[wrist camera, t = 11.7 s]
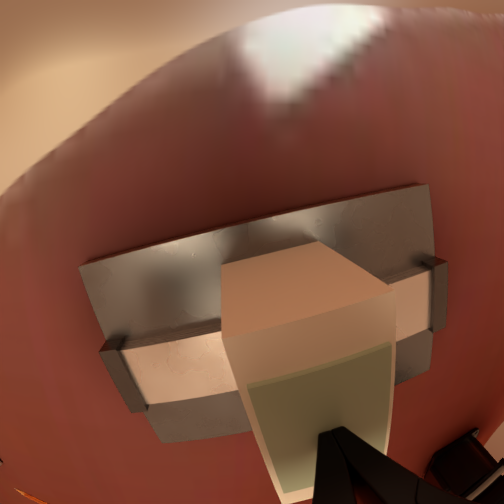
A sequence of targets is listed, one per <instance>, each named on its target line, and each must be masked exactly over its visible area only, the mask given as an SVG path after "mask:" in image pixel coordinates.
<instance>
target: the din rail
mask: <svg viewBox="0 0 504 504" xmlns="http://www.w3.org/2000/svg"><path fill="white" fill-rule="evenodd" d="M317 241H319V242H321V243H323V244H324V245H326V246H327V247H329V248H331V249H332V250H334V251H335V252H337V253H339V254H340V255H342V256H343V257H345V258H347V259H348V260H350V261H351V262H353V263H354V264H356V265H358V266H359V267H361V268H362V269H364V270H365V271H367V272H368V273H370V274H372V275H373V276H375V277H376V278H378V279H379V280H381V281H382V282H384V283H385V284H387V285H388V286H390V287H391V288H393V289H394V290H395V300H396V360H395V381H394V386H395V385H397V384H399V383H402V382H404V381H406V380H408V379H410V378H413V377H415V376H417V375H419V374H421V373H423V372H425V371H427V370H429V369H430V361H431V352H432V342H433V333H434V332H436V331H438V330H441V329H443V328H445V327H446V314H447V295H448V262H447V261H445V260H442V259H440V258H437V257H435V250H434V232H433V219H432V209H431V199H430V191H429V184H420V183H417V184H412V185H406V186H401V187H396V188H391V189H386V190H381V191H376V192H371V193H366V194H361V195H356V196H351V197H346V198H341V199H336V200H332V201H327V202H322V203H318V204H313V205H309V206H304V207H300V208H295V209H291V210H286V211H282V212H277V213H273V214H269V215H264V216H260V217H256V218H252V219H247V220H243V221H239V222H235V223H231V224H226V225H222V226H218V227H214V228H210V229H206V230H202V231H198V232H194V233H190V234H186V235H182V236H179V237H175V238H171V239H167V240H163V241H159V242H156V243H152V244H148V245H144V246H141V247H137V248H133V249H129V250H126V251H122V252H119V253H115V254H111V255H108V256H104V257H101V258H97V259H94V260H90V261H87V262H85V263H83V264H82V265H80V266H79V267H78V268H79V271H80V274H81V277H82V280H83V283H84V286H85V289H86V291H87V294H88V297H89V299H90V302H91V305H92V307H93V310H94V312H95V315H96V317H97V320H98V322H99V324H100V327H101V329H102V332H103V334H104V336H105V338H106V342H105V343H104V345H103V346H102V348H101V349H100V351H99V354H100V356H101V358H102V360H103V362H104V364H105V366H106V368H107V370H108V372H109V374H110V376H111V378H112V379H113V381H114V383H115V385H116V387H117V389H118V391H119V392H120V394H121V396H122V398H123V399H124V401H125V403H126V405H127V406H128V408H129V410H130V411H131V413H135V412H143V413H144V415H145V416H146V418H147V420H148V421H149V423H150V425H151V426H152V428H153V429H154V431H155V433H156V434H157V436H158V437H159V439H160V440H161V442H162V443H172V442H182V441H191V440H199V439H206V438H213V437H219V436H225V435H231V434H237V433H242V432H247V431H252V427H251V424H250V421H249V419H248V416H247V413H246V410H245V408H244V405H243V402H242V399H241V396H240V393H239V390H238V387H237V384H236V382H235V379H234V376H233V373H232V370H231V367H230V364H229V360H228V357H227V354H226V351H225V348H224V345H223V342H222V333H221V265H223V264H227V263H231V262H235V261H239V260H243V259H247V258H252V257H256V256H260V255H264V254H268V253H272V252H276V251H280V250H284V249H288V248H292V247H296V246H300V245H305V244H309V243H313V242H317Z"/></svg>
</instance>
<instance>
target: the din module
mask: <svg viewBox="0 0 504 504" xmlns="http://www.w3.org/2000/svg"><path fill="white" fill-rule="evenodd" d="M221 333H222V342H223V345H224V348H225V351H226V354H227V357H228V360H229V364H230V367H231V370H232V373H233V376H234V379H235V382H236V384H237V387H238V390H239V393H240V396H241V399H242V402H243V405H244V408H245V410H246V413H247V416H248V419H249V421H250V424H251V427H252V430H253V432H254V435H255V438H256V440H257V443H258V446H259V448H260V451H261V454H262V456H263V459H264V461H265V464H266V467H267V469H268V472H269V474H270V477H271V479H272V482H273V484H274V487H275V489H276V491H277V494H278V496H279V499H280V501H281V503H282V504H290V503H295V502H299V501H303V500H307V499H310V498H313V490H314V480H315V469H316V456H317V442H318V434H319V433H322V432H325V431H328V430H330V431H331V430H332V429H334V428H337V427H340V426H344V427H346V428H347V429H349V430H350V431H351V432H353V433H354V434H356V435H357V436H358V437H360V438H361V439H363V440H364V441H366V442H367V443H368V444H370V445H371V446H373V447H374V448H376V449H377V450H379V451H380V452H382V453H383V454H385V455H387V448H388V441H389V434H390V426H391V417H392V407H393V395H394V381H395V360H396V300H395V290H394V289H393V288H391V287H390V286H388V285H387V284H385V283H384V282H382V281H381V280H379V279H378V278H376V277H375V276H373V275H372V274H370V273H368V272H367V271H365V270H364V269H362V268H361V267H359V266H358V265H356V264H354V263H353V262H351V261H350V260H348V259H347V258H345V257H343V256H342V255H340V254H339V253H337V252H335V251H334V250H332V249H331V248H329V247H327V246H326V245H324V244H323V243H321V242H319V241H317V242H313V243H309V244H305V245H300V246H296V247H292V248H288V249H284V250H280V251H276V252H272V253H268V254H264V255H260V256H256V257H252V258H247V259H243V260H239V261H235V262H231V263H227V264H223V265H221Z"/></svg>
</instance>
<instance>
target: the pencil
mask: <svg viewBox="0 0 504 504" xmlns="http://www.w3.org/2000/svg"><path fill="white" fill-rule="evenodd" d="M16 490H17V491H18V492H20V493H21V494H22V495H24V496H25V497H27V498H29V499H31V500H34V501H36V502H38V503H40V504H48V503H46V502H44V501H41V500H39V499H37V498H35V497H33V496H31V495H29V494H27V493H25V492H23V491H20V490H18V489H16Z"/></svg>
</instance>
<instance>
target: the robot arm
mask: <svg viewBox="0 0 504 504" xmlns="http://www.w3.org/2000/svg"><path fill="white" fill-rule="evenodd" d="M478 432H479V429H478V428H475V429H474V430H472V431H471V432H469V433H468V434H466V435H465V436H463V437H462V438H460V439H459V440H457V441H456V442H454V443H452V444H451V445H449V446H447V447H446V448H444V449H442V450H441V451H439V452H437V453H436V454H435V455H434V456H433V458H432V461H431V464H430V466H429V469H428V471H427V474H426V476H425V479H422V478H419V476H417V475H416V474H414V473H412V472H411V471H409V470H408V469H406V468H404V467H403V466H401V465H400V464H398V463H397V462H395V461H394V460H392V459H391V458H389V457H388V456H386V455H385V454H383V453H382V452H380V451H379V450H377V449H376V448H374V447H373V446H371V445H370V444H368V443H367V442H366V441H364V440H363V439H361V438H360V437H358V436H357V435H356V434H354V433H353V432H351V431H350V430H349V429H347V428H346V427H344V426H340V427H337V428H334V429H332V430H331V431H330V430H328V431H325V432H322V433H319V434H318V442H317V456H316V469H315V480H314V490H313V499H312V504H504V475H503V476H502V475H501V474H502V473H503V472H504V458H502V459H501V460H500V461H499V463H497V461H496V460H495V459H494V458H493V457H492V456H491V455H490V454H489V452H488V451H487V450H486V449H485V448H484V447H483V445H482V444H481V443H480V442H479V441H478V440H477V439H476V437H477V435H478Z"/></svg>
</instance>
